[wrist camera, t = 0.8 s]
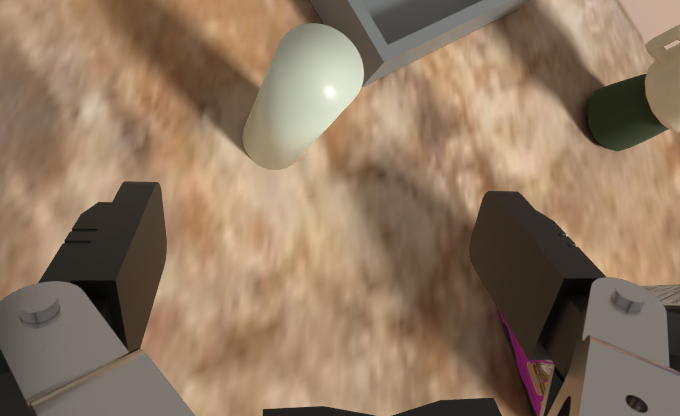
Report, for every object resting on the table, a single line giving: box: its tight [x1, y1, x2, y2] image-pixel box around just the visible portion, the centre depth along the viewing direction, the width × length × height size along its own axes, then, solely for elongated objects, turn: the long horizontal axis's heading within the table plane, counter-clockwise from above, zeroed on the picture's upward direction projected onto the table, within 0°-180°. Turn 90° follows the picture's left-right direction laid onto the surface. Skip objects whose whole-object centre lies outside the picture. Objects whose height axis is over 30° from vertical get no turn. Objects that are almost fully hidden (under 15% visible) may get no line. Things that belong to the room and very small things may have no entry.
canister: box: [242, 23, 364, 170], centre depth 29 cm, size 5×5×12 cm
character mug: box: [587, 25, 680, 151], centre depth 40 cm, size 11×7×13 cm, turn 55°
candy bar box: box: [498, 285, 680, 416], centre depth 32 cm, size 11×5×16 cm, turn 18°
